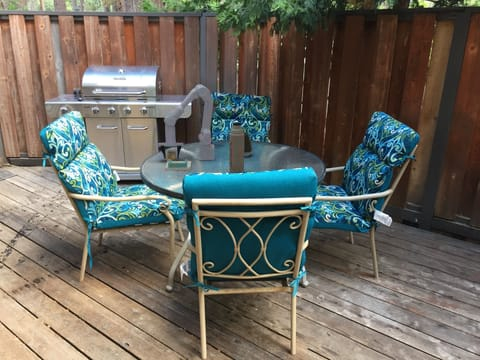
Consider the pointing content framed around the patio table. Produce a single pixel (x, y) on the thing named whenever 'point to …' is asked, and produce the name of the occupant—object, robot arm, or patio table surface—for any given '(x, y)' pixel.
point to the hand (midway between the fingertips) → (171, 158)
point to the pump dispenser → (247, 145)
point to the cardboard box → (171, 155)
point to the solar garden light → (212, 114)
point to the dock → (178, 165)
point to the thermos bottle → (236, 148)
